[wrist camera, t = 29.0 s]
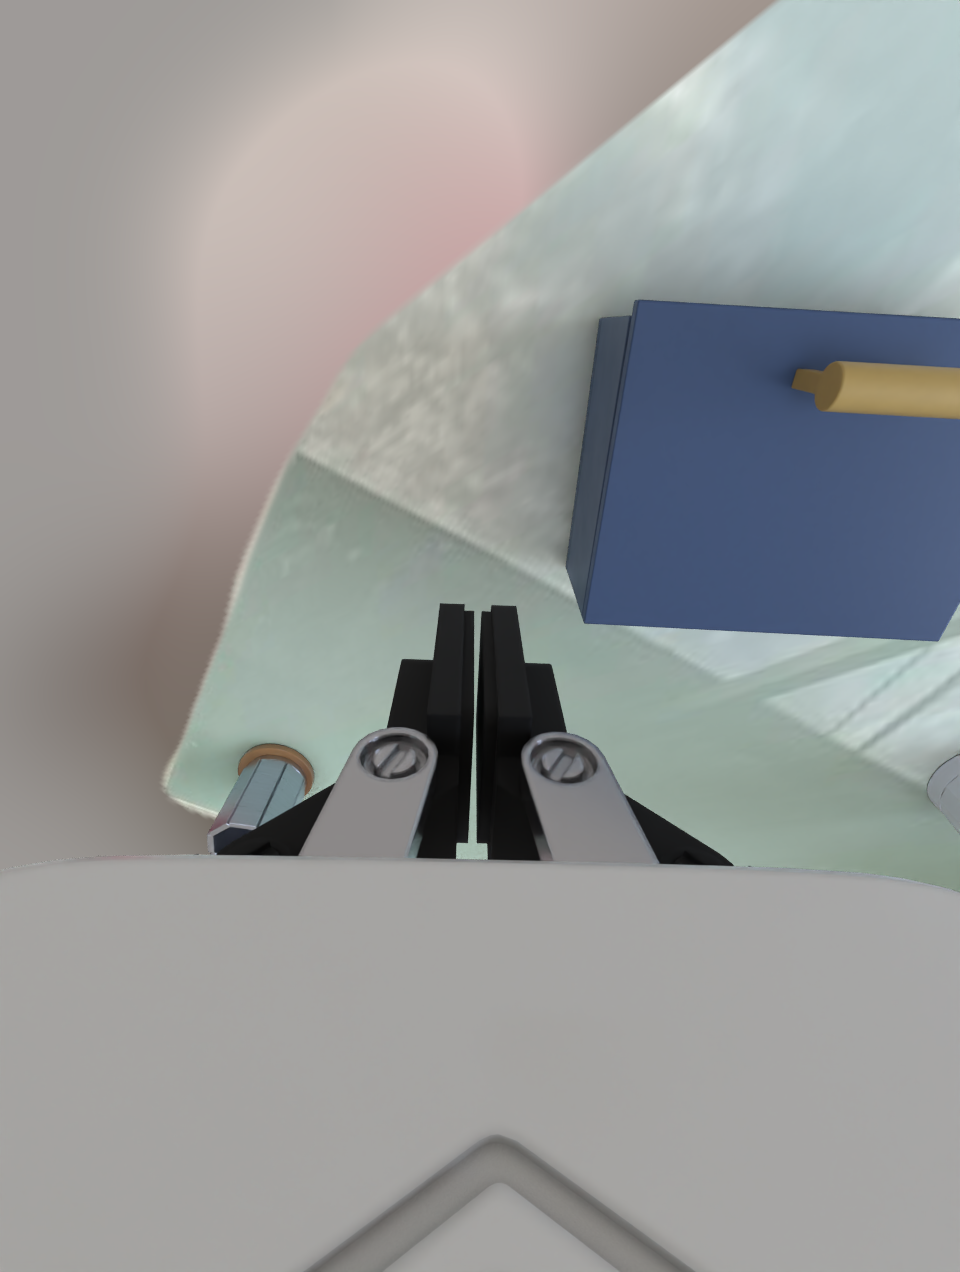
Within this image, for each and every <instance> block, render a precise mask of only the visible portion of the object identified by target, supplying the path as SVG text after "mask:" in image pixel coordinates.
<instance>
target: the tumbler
mask: <svg viewBox="0 0 960 1272" xmlns="http://www.w3.org/2000/svg"><path fill="white" fill-rule="evenodd" d="M306 784H307V780H306V776H305V773H304V772H303V770H302V769H301V768H300V767H299V766H298V765H297V764H296V763H295V762H293V761H291V760H289V759H287V758H285V757H281V756H277V755H264V756H260V757H257V758H255V759H254V760H252V761H251V762H250V763H249V764H248V766H247V767H245V768H244V769H243V771H242V773H241V774H240V776H239V778H238V780H237V782H236V783H235V785H234V787H233V789H232V791H231V792H230V794H229V796H228V798H227V800H226V801H225V803H224V805H223V807H222V809H221V811H220V812H219V814H218V816H217V818H216V820H215V821H214V824H213V825H212V827H211V829H210V830H209V832H208V834H207V841H208V852H211V853H210V855H216V854H217V853H218V852H219V851H220V850H221V849H223V848H224V847H226V846H227V845H228V844H230V843H231V842H233V841H234V840H236V839H238V838H240V837H241V836H243V835H245V834H247V833H248V832H250V831H252V830H254V829H255V828H257V827H259V826H261V825H262V824H264V823H266V822H268V821H269V820H271V819H273V818H275V817H276V816H278V815H280V814H282V813H283V812H285V811H287V810H289V809H290V808H292V807H294V806H296V805H298V804H299V803H301V802H302V800H303V798H304V794H305V788H306Z"/></svg>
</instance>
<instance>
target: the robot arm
mask: <svg viewBox="0 0 960 1272" xmlns="http://www.w3.org/2000/svg"><path fill="white" fill-rule="evenodd" d="M464 606H465V604H442V603H440V609H439V617H438V625H437V634H436V642H435V650H434V658H433V660H416V659H402V661H401V665H400V670H399V674H398V679H397V684H396V688H395V693H394V697H393V702H392V707H391V711H390V716H389V721H388V725H387V728H386V729H380V730H378V731H375V732H373V733H370V734H368V735H367V736H365V737H364V738H363V739H361V740H360V741H359V742H358V743H357V745H356V746H355V747H354V748H353V750H352V752H351V754H350V756H349V758H348V760H347V762H346V764H345V766H344V768H343V769H342V771H341V773H340V775H339V777H338V779H337V781H336V783H334V784H333V785H331V786H329V787H327V788H326V789H324V790H322V791H320V792H319V793H317V794H315V795H313V796H312V797H310V798H308V799H306V800H305V801H303V802H301V803H299V804H298V805H296V806H294V807H292V808H290V809H289V810H287V811H285V812H283V813H282V814H280V815H278V816H276V817H275V818H273V819H271V820H269V821H268V822H266V823H264V824H262V825H261V826H259V827H257V828H255V829H254V830H252V831H250V832H248V833H247V834H245V835H243V836H241V837H240V838H238V839H236V840H234V841H233V842H231V843H230V844H228V845H227V846H226V847H224V848H223V849H221V850H220V851H219V852H218V853H217V854H216V855H199V854H195V855H140V856H139V855H136V856H96V857H85V858H74V859H61V860H53V861H47V862H41V863H35V864H29V865H24V866H18V867H12V868H8V869H4V870H0V1272H960V892H957V891H954V890H951V889H948V888H944V887H940V886H936V885H931V884H927V883H922V882H918V881H913V880H909V879H904V878H898V877H891V876H883V875H876V874H868V873H858V872H842V871H827V870H811V869H796V868H773V867H751V866H748V867H740V866H734V865H733V864H732V863H731V862H729V861H728V860H727V859H726V858H724V857H723V856H722V855H720V854H719V853H718V852H716V851H715V850H713V849H711V848H710V847H708V846H707V845H705V844H703V843H702V842H700V841H699V840H697V839H695V838H694V837H692V836H691V835H689V834H687V833H686V832H684V831H683V830H681V829H679V828H678V827H676V826H675V825H673V824H671V823H670V822H668V821H667V820H665V819H663V818H662V817H660V816H659V815H657V814H655V813H654V812H652V811H651V810H649V809H647V808H646V807H644V806H643V805H641V804H639V803H638V802H636V801H635V800H633V799H631V798H630V797H628V796H627V795H625V794H624V793H623V791H622V789H621V788H620V786H619V784H618V782H617V780H616V778H615V776H614V774H613V772H612V770H611V768H610V766H609V764H608V762H607V760H606V758H605V757H604V755H603V754H602V752H601V751H600V750H599V748H598V747H596V746H595V745H594V744H593V743H591V742H590V741H589V740H587V739H584V738H582V737H580V736H578V735H574V734H570V733H567V731H566V726H565V722H564V718H563V713H562V709H561V704H560V700H559V696H558V691H557V687H556V682H555V678H554V674H553V669H552V666H551V664H538V663H525V661H524V655H523V648H522V641H521V635H520V628H519V621H518V614H517V608H516V606H498V605H492V606H491V612H486V611H482V615H481V633H480V653H479V672H478V692H477V712H476V791H477V843H487V846H488V860H477V859H456V843H468V830H469V810H470V789H471V769H472V748H473V727H474V611H464Z"/></svg>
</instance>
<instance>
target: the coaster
mask: <svg viewBox="0 0 960 1272" xmlns="http://www.w3.org/2000/svg"><path fill="white" fill-rule="evenodd" d="M264 755H277V756H281V757H285V758H287V759H289V760H291V761H293V762H295V763H296V764H297V765H298V766H299V767H300V768H301V769H302V770H303V772H304V773H305V776H306V780H307V784H306V788H305V794H304V796H305V795H306V794H307V793H308V792H309V791H310V789H311V787H312V784H313V781H314V773H313V769H312V767H311V765H310V763H309V762H308V760H307V759H306V758H305V757H304V756H302V755H301V754H300V753H298V752H297V751H295V750H293V749H291V748H289V747H286V746H282V745H277V744H264V745H259V746H256V747H254V748H252V749H250V750H248V751H247V752H246V753H245V754H244V756H243V757H242V759H241V760H240V763H239V766H238V775H239V776H240V774H241V773H242V771H243V769H244V768H245V767H247V766H248V764H249V763H250V762H251V761H252V760H254V759H255V758H257V757H260V756H264Z"/></svg>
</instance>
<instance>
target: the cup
mask: <svg viewBox="0 0 960 1272" xmlns="http://www.w3.org/2000/svg"><path fill="white" fill-rule="evenodd" d="M927 793H928V797H929V799H930V800H931V801H932V802H933V803H934V804H935V806H936V807H937V808H938V809H939V810H940V811H941V812H942V813H943V814H944V815H945V817H946V818H947V819H948V820H949V822H950V823H951V824H952V825H953V827H954V828H955V829H956V830H957V832H958V833H959V834H960V755H958V756H956V757H954V758H952V759H950V760H949V761H947V762H946V763H945V764H943V765H942V766H941V767H940V768H939V769H938V770H937V771H936V772H935V773H934V774H933V776H932V777H931V779H930V781H929V784H928V787H927Z"/></svg>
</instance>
